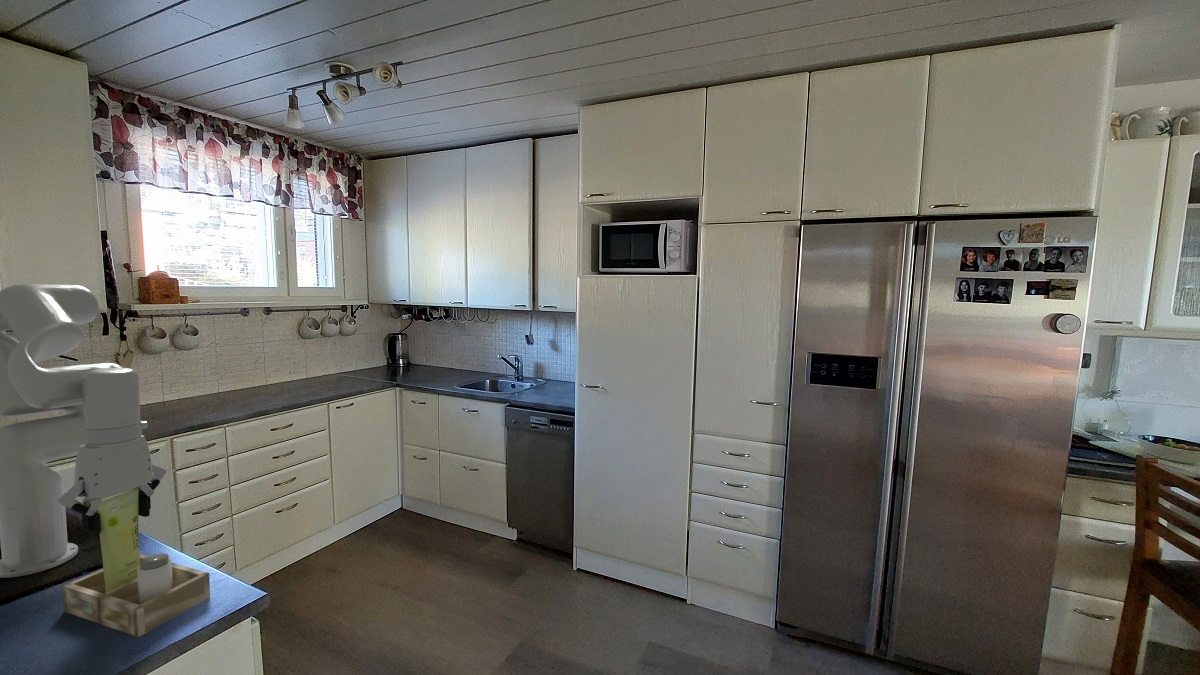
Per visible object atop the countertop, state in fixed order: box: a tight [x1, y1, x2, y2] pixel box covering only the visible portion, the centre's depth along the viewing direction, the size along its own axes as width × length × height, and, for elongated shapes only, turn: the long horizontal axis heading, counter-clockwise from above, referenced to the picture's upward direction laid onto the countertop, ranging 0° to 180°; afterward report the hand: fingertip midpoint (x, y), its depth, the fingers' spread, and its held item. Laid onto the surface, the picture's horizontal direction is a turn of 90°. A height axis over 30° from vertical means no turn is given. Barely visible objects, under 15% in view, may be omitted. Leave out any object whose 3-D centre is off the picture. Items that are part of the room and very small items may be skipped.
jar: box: [137, 553, 173, 605], centre depth 93 cm, size 5×5×10 cm
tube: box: [96, 488, 140, 592], centre depth 95 cm, size 6×5×20 cm
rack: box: [62, 553, 211, 638], centre depth 94 cm, size 20×12×6 cm, turn 73°
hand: (118, 523), depth 94 cm, fingers closed on tube, 7 cm apart
